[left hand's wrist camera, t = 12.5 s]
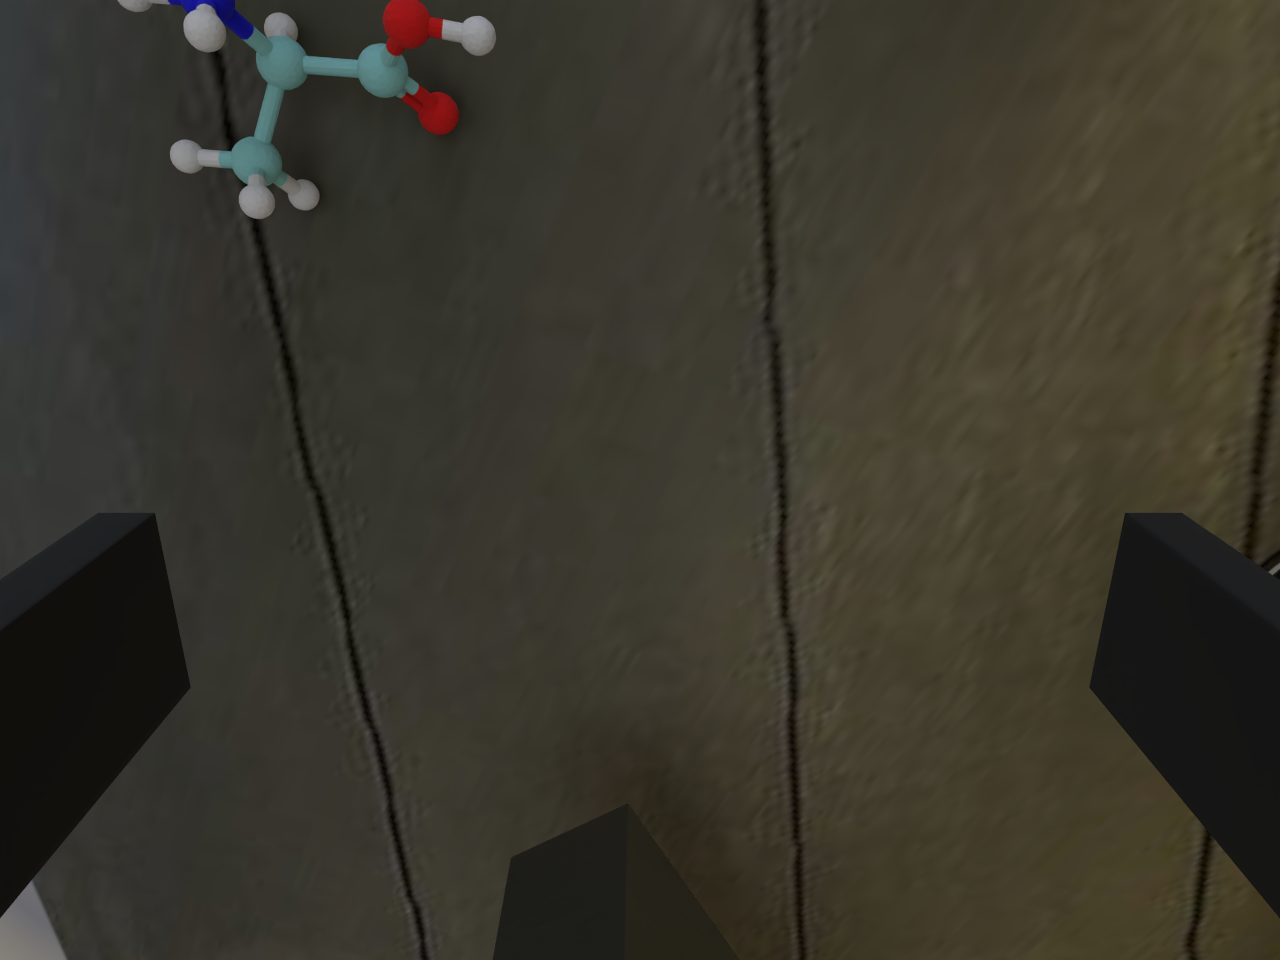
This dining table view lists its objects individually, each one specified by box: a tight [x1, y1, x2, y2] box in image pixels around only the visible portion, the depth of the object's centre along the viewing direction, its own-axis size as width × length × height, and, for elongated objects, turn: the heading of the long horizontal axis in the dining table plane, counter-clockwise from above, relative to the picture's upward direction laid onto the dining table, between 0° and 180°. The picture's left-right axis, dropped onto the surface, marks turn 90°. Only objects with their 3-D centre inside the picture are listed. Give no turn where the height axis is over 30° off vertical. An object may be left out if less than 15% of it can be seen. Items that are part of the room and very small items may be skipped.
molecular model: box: [118, 0, 496, 219], centre depth 33 cm, size 12×10×10 cm
